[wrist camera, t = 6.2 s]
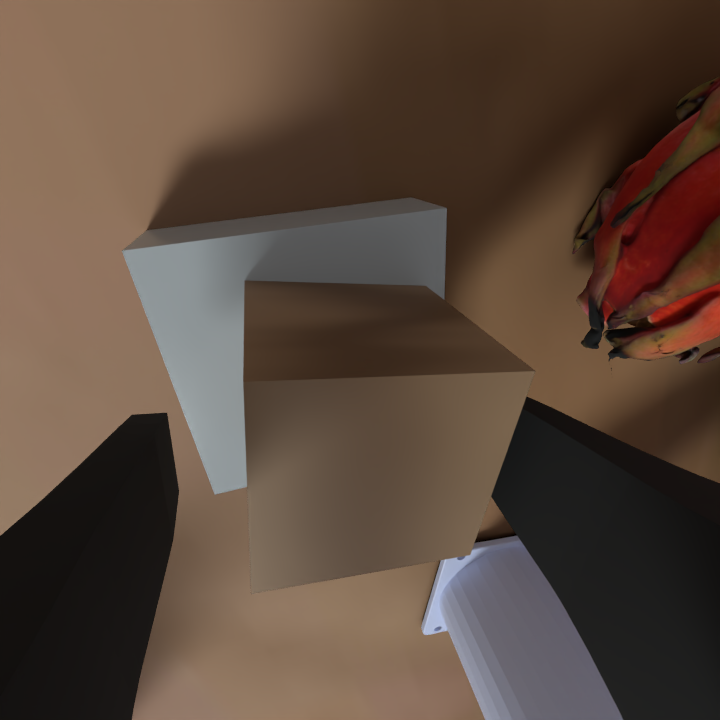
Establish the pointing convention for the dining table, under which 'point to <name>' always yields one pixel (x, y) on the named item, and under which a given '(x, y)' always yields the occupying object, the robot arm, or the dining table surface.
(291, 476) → the walnut cube
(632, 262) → the dragon fruit
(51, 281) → the dining table surface
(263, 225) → the grey flat square block
